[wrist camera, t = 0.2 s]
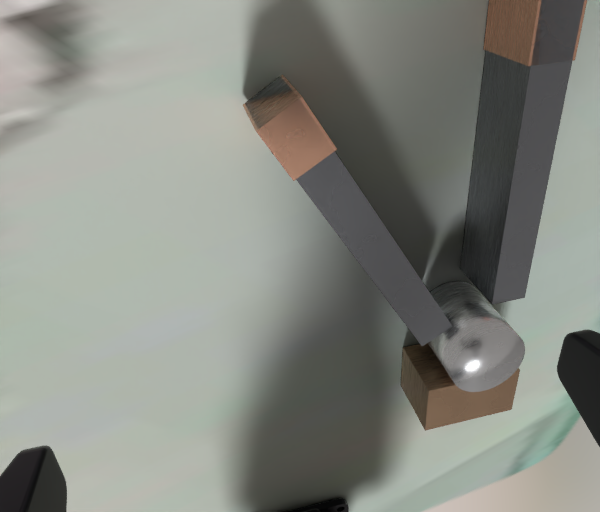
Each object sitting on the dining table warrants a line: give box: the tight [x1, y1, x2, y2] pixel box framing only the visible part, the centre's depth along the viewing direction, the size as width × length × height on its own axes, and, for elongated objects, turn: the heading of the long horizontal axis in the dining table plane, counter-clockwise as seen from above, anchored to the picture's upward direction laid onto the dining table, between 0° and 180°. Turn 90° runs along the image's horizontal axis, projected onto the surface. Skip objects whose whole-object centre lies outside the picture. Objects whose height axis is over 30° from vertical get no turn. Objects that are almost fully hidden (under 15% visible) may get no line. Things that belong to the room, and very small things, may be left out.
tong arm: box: [243, 75, 453, 346], centre depth 22 cm, size 12×2×3 cm, turn 34°
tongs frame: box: [401, 0, 587, 430], centre depth 23 cm, size 20×5×4 cm, turn 4°
